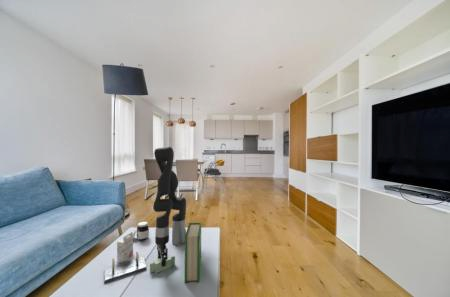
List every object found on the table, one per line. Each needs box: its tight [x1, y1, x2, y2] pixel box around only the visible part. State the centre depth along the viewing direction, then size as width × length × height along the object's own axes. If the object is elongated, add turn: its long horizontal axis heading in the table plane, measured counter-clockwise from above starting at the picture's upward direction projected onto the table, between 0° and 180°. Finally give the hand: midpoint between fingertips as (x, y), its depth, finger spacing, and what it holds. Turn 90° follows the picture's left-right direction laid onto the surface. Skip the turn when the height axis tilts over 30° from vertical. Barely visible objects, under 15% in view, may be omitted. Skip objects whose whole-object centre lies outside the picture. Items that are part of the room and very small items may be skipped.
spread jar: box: [133, 221, 150, 241], centre depth 141 cm, size 12×11×12 cm
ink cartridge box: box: [116, 231, 134, 262], centre depth 116 cm, size 9×5×15 cm, turn 168°
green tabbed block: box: [149, 254, 176, 274], centre depth 105 cm, size 14×4×5 cm, turn 124°
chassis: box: [103, 251, 147, 284], centre depth 104 cm, size 20×12×8 cm, turn 124°
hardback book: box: [184, 222, 202, 284], centre depth 103 cm, size 18×7×24 cm, turn 4°
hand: (161, 262), depth 105 cm, fingers open, 8 cm apart
